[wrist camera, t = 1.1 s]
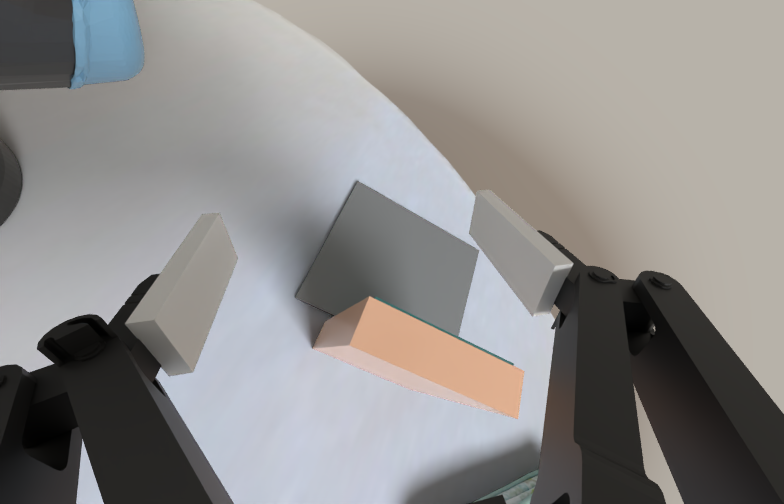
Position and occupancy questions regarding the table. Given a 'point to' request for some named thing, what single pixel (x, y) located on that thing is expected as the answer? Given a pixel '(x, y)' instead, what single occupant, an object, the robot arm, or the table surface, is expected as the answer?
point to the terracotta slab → (421, 357)
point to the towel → (517, 490)
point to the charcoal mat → (391, 263)
